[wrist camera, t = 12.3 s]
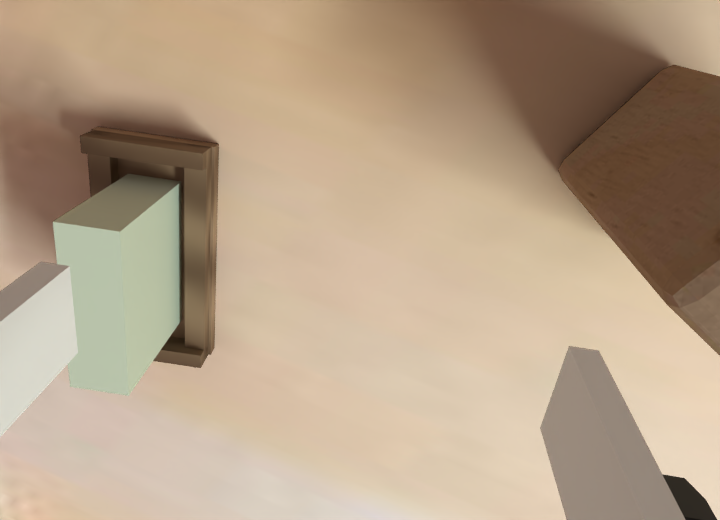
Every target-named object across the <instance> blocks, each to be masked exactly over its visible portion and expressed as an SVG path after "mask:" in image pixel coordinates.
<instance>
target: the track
mask: <svg viewBox="0 0 720 520" xmlns="http://www.w3.org/2000/svg"><path fill="white" fill-rule="evenodd" d="M80 142H81V153H86V154H88V167H89V180H90V193H91V197H92V196H94V195H95V194H97V193H99V192H100V191H102V190H103V189H105V188H107V187H108V186H110V185H111V184H113V183H114V182H116V181H118V180H119V179H121V178H122V177H124V176H125V175H127V174H134V175H141V176H147V177H154V178H161V179H167V180H174V181H181V223H182V320H181V322H180V323H179V324H178V326H177V327H176V329H175V330H174V332H173V333H172V334H171V336H170V337H169V339H168V340H167V342H166V343H165V344H164V346H163V347H162V349H161V350H160V352H159V353H158V354H157V356H156V357H155V359H154V360H153V361H158V362H164V363H171V364H178V365H184V366H191V367H198V368H201V367H202V365H203V363H204V361H205V359H206V358H207V356H208V354H210V355H211V353H212V351H213V349H214V338H215V293H216V248H217V202H218V157H219V144H215V143H209V142H202V141H195V140H188V139H181V138H174V137H167V136H160V135H153V134H147V133H140V132H133V131H126V130H119V129H112V128H105V127H96V128H94V129H92V131H90V132H88V133H86V134H83V135H81V136H80Z"/></svg>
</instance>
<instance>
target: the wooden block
mask: <svg viewBox="0 0 720 520" xmlns="http://www.w3.org/2000/svg"><path fill="white" fill-rule="evenodd" d="M559 173H560V176H561V178H562V180H563V182H564V183H565V184H566V185H567V186H568V188H569V189H570V190H571V191H572V192H573V194H574V195H575V196H576V197H577V198H578V199H579V201H580V202H581V203H582V204H583V205H584V207H585V208H586V209H587V210H588V211H589V213H590V214H591V215H592V216H593V217H594V218H595V220H596V221H597V222H598V223H599V224H600V226H601V227H602V228H603V229H604V230H605V232H606V233H607V234H608V235H609V236H610V237H611V239H612V240H613V241H614V242H615V243H616V245H617V246H618V247H619V248H620V249H621V250H622V252H623V253H624V254H625V255H626V256H627V258H628V259H629V260H630V261H631V262H632V264H633V265H634V266H635V267H636V268H637V269H638V271H639V272H640V273H641V274H642V275H643V277H644V278H645V279H646V280H647V281H648V283H649V284H650V285H651V286H652V287H653V288H654V290H655V291H656V292H657V293H658V294H659V296H660V297H661V298H662V299H663V300H664V302H665V303H666V304H667V305H668V306H669V307H670V308H671V309H672V310H673V311H674V312H675V313H676V314H677V315H678V316H679V317H680V318H681V319H683V320H684V321H685V322H686V323H687V324H688V325H689V326H690V327H691V328H692V329H693V330H694V331H695V332H696V333H697V334H698V335H699V336H700V337H701V338H702V339H703V340H704V341H705V342H706V343H707V344H708V345H709V346H710V347H711V348H712V349H713V350H714V351H716V352H717V353H718V354H719V355H720V76H716V75H712V74H708V73H704V72H700V71H696V70H692V69H688V68H684V67H680V66H676V65H672V66H670V67H668V68H666V69H663V70H661V71H660V72H659V73H658V74H657V75H656V76H655V77H654V78H653V79H652V80H651V81H649V82H648V83H647V84H646V85H645V86H644V87H643V88H642V89H641V90H640V91H639V92H637V93H636V94H635V95H634V96H633V97H632V98H631V99H630V100H629V101H628V102H627V103H625V104H624V105H623V106H622V107H621V108H620V109H619V110H618V111H617V112H616V113H615V114H613V115H612V116H611V117H610V118H609V119H608V120H607V121H606V122H605V123H604V124H603V125H601V126H600V127H599V128H598V129H597V130H596V131H595V132H594V133H593V134H592V135H591V136H589V137H588V138H587V139H586V140H585V141H584V142H583V143H582V144H581V145H580V146H579V147H578V148H576V149H575V150H574V151H573V152H572V153H571V154H570V155H569V156H568V157H567V158H566V159H564V161H563V163H562V164H561V166H560V168H559Z"/></svg>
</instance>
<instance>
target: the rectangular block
mask: <svg viewBox="0 0 720 520" xmlns="http://www.w3.org/2000/svg"><path fill="white" fill-rule="evenodd" d="M53 229H54V239H55V248H56V258H57V264H59V265H66V266H70V275H71V286H72V296H73V306H74V316H75V327H76V337H77V347H78V353H77V354H76V356H75V357H74V358H73V359H72V360H71V361H70V362H69V363H68V371H69V380H70V387H75V388H82V389H88V390H95V391H101V392H108V393H114V394H121V395H127V396H129V395H130V393H131V392H132V390H133V389H134V387H135V386H136V385H137V383H138V382H139V380H140V379H141V377H142V376H143V374H144V373H145V372H146V370H147V369H148V367H149V366H150V364H151V363H152V362H153V360H154V359H155V357H156V356H157V354H158V353H159V352H160V350H161V349H162V347H163V346H164V344H165V343H166V342H167V340H168V339H169V337H170V336H171V334H172V333H173V332H174V330H175V329H176V327H177V326H178V324H179V323H180V322H181V320H182V223H181V181H174V180H167V179H161V178H154V177H147V176H141V175H134V174H127V175H125V176H124V177H122V178H121V179H119V180H118V181H116V182H114V183H113V184H111V185H110V186H108V187H107V188H105V189H103V190H102V191H100V192H99V193H97V194H95V195H94V196H92V197H91V198H89V199H88V200H86V201H84V202H83V203H81V204H80V205H78V206H77V207H75V208H73V209H72V210H70V211H69V212H67V213H65V214H64V215H62V216H61V217H59V218H58V219H56V220H54V221H53Z"/></svg>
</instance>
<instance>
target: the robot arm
mask: <svg viewBox="0 0 720 520" xmlns="http://www.w3.org/2000/svg"><path fill="white" fill-rule="evenodd" d="M77 353H78V347H77V337H76V327H75V316H74V306H73V296H72V286H71V275H70V266H66V265H59V264H53V263H47V262H40V263H38V264H37V265H36V266H34V267H33V268H31V269H30V270H29V271H27V272H26V273H25V274H23V275H22V276H20V277H19V278H18V279H16V280H15V281H14V282H12V283H11V284H10V285H8V286H7V287H5V288H4V289H3V290H1V291H0V437H1V436H2V435H3V434H4V432H5V431H6V430H7V429H8V428H9V427H10V426H11V425H12V424H13V423H14V422H15V421H16V419H17V418H18V417H19V416H20V415H21V414H22V413H23V412H24V411H25V410H26V409H27V408H28V406H29V405H30V404H31V403H32V402H33V401H34V400H35V399H36V398H37V397H38V396H39V395H40V393H41V392H42V391H43V390H44V389H45V388H46V387H47V386H48V385H49V384H50V383H51V382H52V380H53V379H54V378H55V377H56V376H57V375H58V374H59V373H60V372H61V371H62V370H63V369H64V367H65V366H66V365H67V364H68V363H69V362H70V361H71V360H72V359H73V358H74V357H75V356H76V354H77ZM540 429H541V432H542V436H543V439H544V443H545V446H546V450H547V453H548V456H549V460H550V463H551V467H552V470H553V474H554V477H555V481H556V484H557V488H558V491H559V495H560V498H561V501H562V505H563V508H564V512H565V515H566V519H567V520H717V519H716V517H715V515H714V513H713V512H712V510H711V508H710V506H709V505H708V503H707V501H706V499H705V498H704V497H703V496H702V495H701V494H700V493H699V492H698V491H697V490H696V489H695V488H694V487H693V486H692V485H691V484H690V483H689V482H688V481H687V480H686V479H685V478H680V477H674V476H668V475H662V473H661V471H660V469H659V467H658V465H657V463H656V461H655V459H654V457H653V455H652V454H651V452H650V450H649V448H648V446H647V444H646V442H645V440H644V438H643V436H642V434H641V432H640V430H639V428H638V426H637V424H636V422H635V420H634V418H633V416H632V414H631V413H630V411H629V409H628V407H627V405H626V403H625V401H624V399H623V397H622V395H621V393H620V391H619V389H618V387H617V385H616V383H615V381H614V379H613V377H612V375H611V374H610V372H609V370H608V368H607V366H606V364H605V362H604V360H603V358H602V356H601V354H600V352H599V351H598V350H591V349H585V348H579V347H573V346H569V348H568V351H567V353H566V356H565V359H564V362H563V365H562V368H561V371H560V373H559V376H558V379H557V382H556V385H555V388H554V390H553V393H552V396H551V399H550V402H549V405H548V407H547V410H546V413H545V416H544V419H543V422H542V425H541V427H540Z"/></svg>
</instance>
